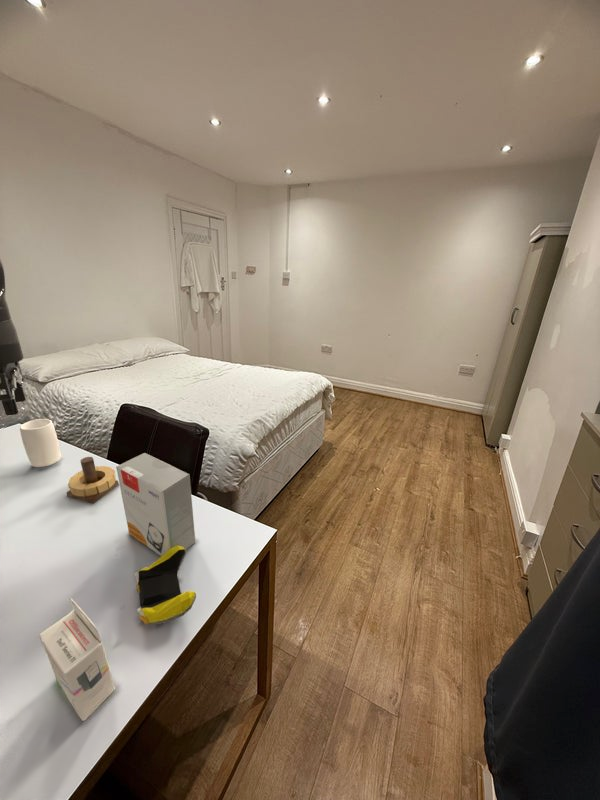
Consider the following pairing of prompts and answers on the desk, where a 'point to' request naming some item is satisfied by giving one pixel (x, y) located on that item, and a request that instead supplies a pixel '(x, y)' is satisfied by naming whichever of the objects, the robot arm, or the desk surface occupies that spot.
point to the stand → (90, 481)
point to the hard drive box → (157, 503)
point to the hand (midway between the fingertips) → (16, 407)
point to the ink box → (78, 661)
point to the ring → (93, 488)
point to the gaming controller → (163, 589)
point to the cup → (40, 442)
